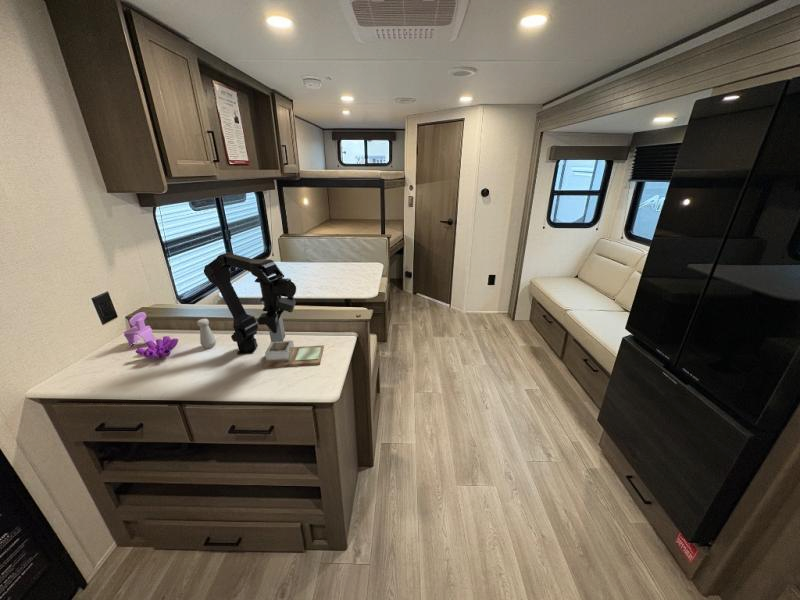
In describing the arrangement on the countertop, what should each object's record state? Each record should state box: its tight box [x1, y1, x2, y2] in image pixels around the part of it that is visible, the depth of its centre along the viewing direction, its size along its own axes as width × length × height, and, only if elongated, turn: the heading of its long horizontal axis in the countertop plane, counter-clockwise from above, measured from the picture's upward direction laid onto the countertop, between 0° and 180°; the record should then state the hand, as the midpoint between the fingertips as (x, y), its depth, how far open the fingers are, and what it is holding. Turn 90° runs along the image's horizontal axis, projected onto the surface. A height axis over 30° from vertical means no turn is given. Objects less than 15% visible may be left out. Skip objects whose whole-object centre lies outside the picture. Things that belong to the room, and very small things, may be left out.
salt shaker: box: [196, 318, 217, 350], centre depth 132 cm, size 6×6×13 cm
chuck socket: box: [264, 340, 295, 363], centre depth 125 cm, size 9×9×4 cm
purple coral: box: [134, 335, 179, 359], centre depth 127 cm, size 11×15×10 cm
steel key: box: [267, 313, 286, 343], centre depth 121 cm, size 4×4×10 cm
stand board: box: [262, 345, 325, 369], centre depth 127 cm, size 22×13×1 cm, turn 96°
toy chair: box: [123, 311, 158, 347], centre depth 135 cm, size 8×9×15 cm
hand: (276, 330), depth 121 cm, fingers closed on steel key, 4 cm apart
